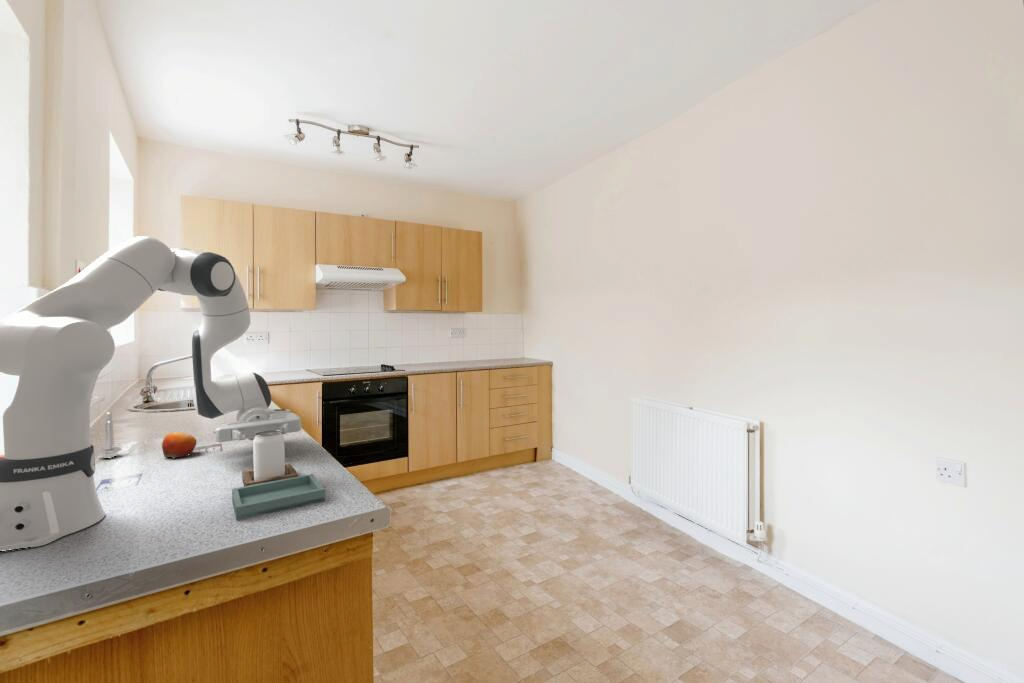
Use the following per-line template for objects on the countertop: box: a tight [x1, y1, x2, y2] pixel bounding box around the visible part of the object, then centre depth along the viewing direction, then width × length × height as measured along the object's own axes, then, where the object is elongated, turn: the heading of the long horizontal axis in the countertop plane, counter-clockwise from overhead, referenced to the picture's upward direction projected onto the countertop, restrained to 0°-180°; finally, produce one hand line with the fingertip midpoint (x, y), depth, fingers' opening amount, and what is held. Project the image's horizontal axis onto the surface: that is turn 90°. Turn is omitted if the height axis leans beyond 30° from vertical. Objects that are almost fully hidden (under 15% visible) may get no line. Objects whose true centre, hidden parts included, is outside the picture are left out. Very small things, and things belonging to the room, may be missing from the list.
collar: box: [241, 462, 299, 487], centre depth 106 cm, size 10×10×2 cm
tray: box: [231, 473, 326, 521], centre depth 95 cm, size 16×12×2 cm
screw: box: [98, 411, 122, 458], centre depth 127 cm, size 13×5×5 cm
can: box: [252, 430, 286, 480], centre depth 106 cm, size 6×6×12 cm
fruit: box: [161, 431, 197, 460], centre depth 128 cm, size 8×8×8 cm
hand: (263, 433), depth 116 cm, fingers open, 8 cm apart
